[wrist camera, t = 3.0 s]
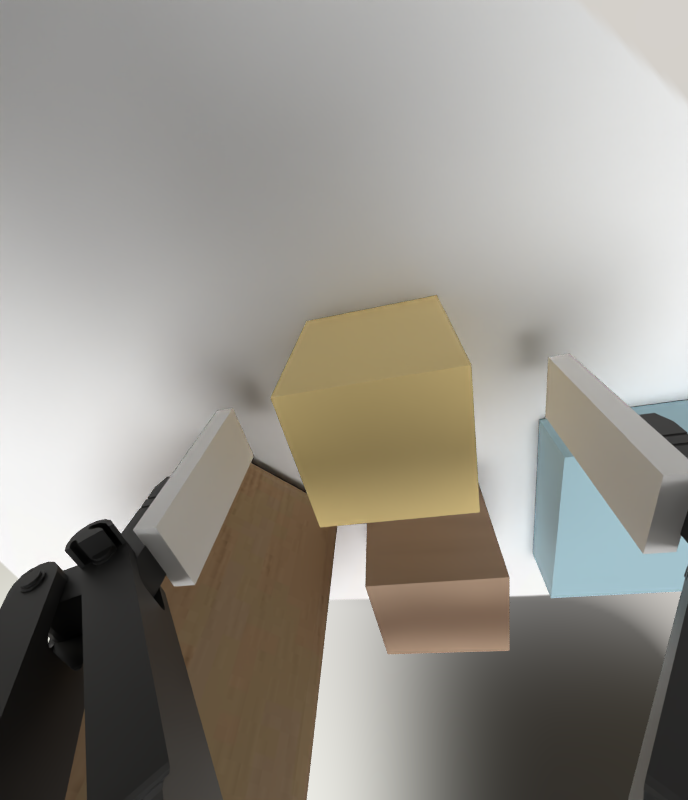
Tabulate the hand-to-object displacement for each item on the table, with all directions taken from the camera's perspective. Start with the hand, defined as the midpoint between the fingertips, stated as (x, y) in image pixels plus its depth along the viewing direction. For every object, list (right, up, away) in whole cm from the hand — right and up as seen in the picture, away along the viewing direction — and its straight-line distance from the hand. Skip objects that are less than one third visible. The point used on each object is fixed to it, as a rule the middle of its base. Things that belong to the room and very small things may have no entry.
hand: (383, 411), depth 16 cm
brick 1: (0, +2, +3) cm, 3 cm away
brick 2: (+3, -6, +7) cm, 10 cm away
